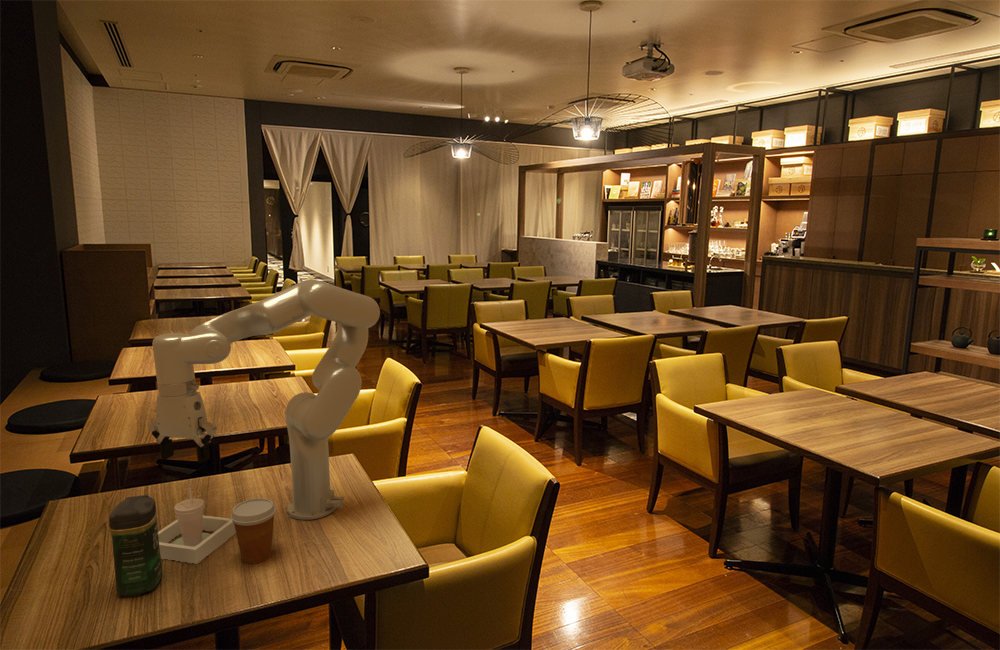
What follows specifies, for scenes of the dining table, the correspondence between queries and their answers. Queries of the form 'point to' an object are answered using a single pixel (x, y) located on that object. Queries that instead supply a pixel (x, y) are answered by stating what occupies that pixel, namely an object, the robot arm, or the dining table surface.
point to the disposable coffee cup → (254, 528)
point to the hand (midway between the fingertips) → (185, 459)
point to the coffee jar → (135, 545)
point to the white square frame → (190, 554)
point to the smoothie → (190, 519)
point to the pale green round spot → (180, 542)
